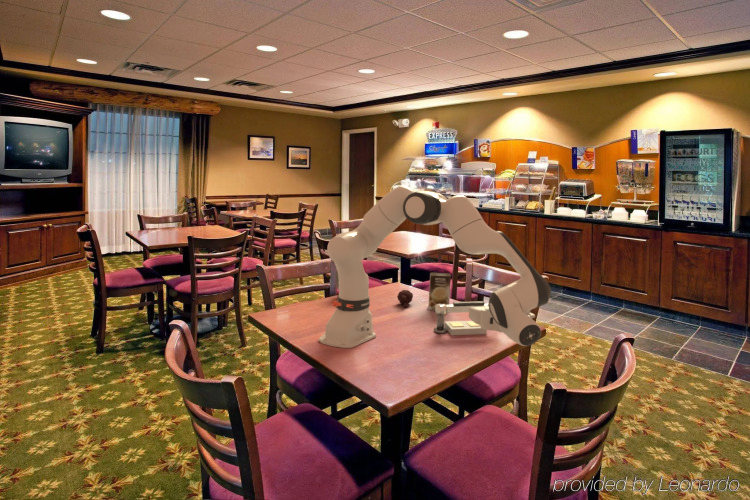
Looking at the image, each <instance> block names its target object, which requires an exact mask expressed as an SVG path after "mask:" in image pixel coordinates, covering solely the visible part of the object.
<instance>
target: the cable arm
mask: <svg viewBox="0 0 750 500" xmlns="http://www.w3.org/2000/svg"><path fill="white" fill-rule="evenodd" d="M488 304H489V303H485V301H484V300H482V301H478V300H477V301H453V303H452V304H449V305H445V304H436V305H435V310H434V313H435V314H436V315H437V314H446V315H447V314H452V313H469V308H470V307H483V306H487V305H488Z"/></svg>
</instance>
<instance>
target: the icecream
mask: <svg viewBox="0 0 750 500" xmlns="http://www.w3.org/2000/svg"><path fill="white" fill-rule="evenodd" d="M413 298H414V293H413V292H411V291H410V290H407V289H402V290H401V291H399V292H398V294H397V301H399V303H400V304H402V305H403V307H404V309H406V308H408V305H409V304H410V303H411V302H412V301H413Z"/></svg>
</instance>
